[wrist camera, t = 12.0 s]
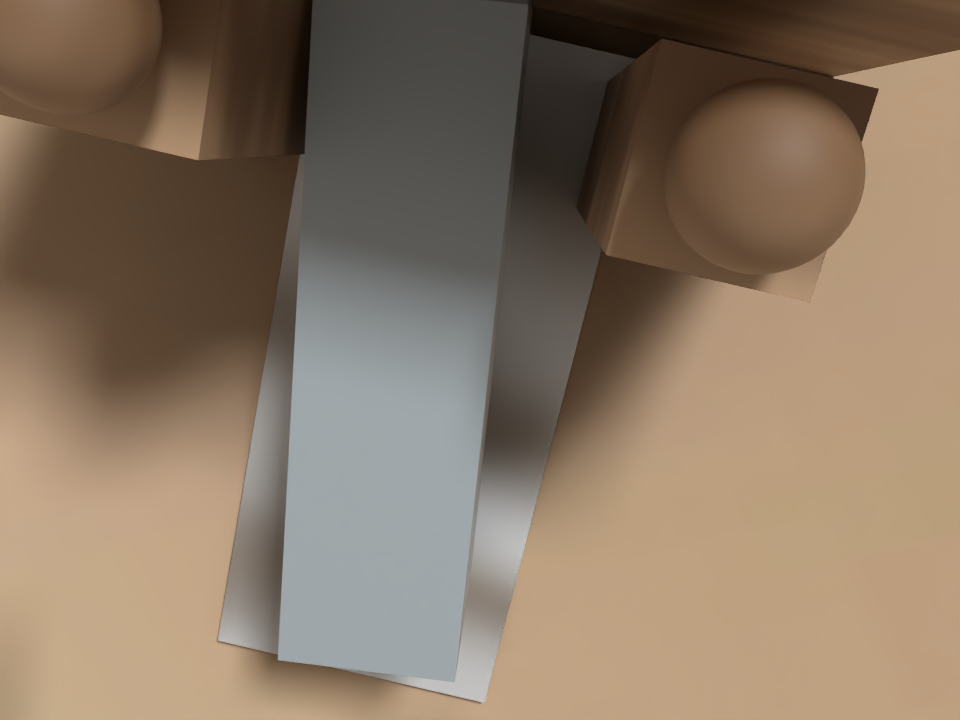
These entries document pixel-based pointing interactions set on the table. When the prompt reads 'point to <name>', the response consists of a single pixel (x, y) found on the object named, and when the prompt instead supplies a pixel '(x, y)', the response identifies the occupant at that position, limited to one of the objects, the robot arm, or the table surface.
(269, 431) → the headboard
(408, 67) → the rail
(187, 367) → the table surface
